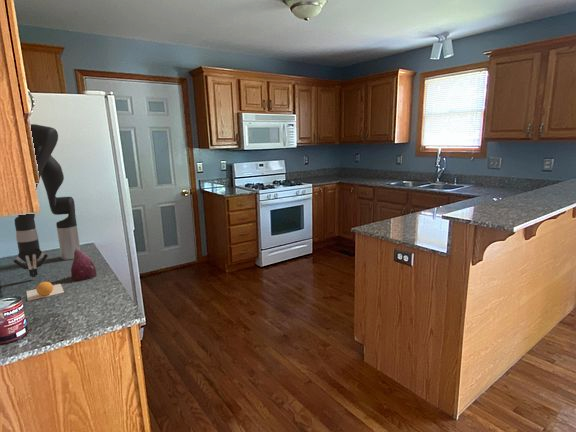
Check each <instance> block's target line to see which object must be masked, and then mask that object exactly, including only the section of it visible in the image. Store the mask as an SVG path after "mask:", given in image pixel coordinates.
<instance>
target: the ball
mask: <svg viewBox="0 0 576 432" xmlns="http://www.w3.org/2000/svg"><path fill="white" fill-rule="evenodd" d="M36 290H37V293H38V294H39V295H42V296H46V295H49V294H50V293H51V292H52V291H53V284H52V283H51V282H50V281H41V283H39V284H38V285H37V286H36Z"/></svg>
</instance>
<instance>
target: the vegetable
mask: <svg viewBox="0 0 576 432" xmlns="http://www.w3.org/2000/svg"><path fill="white" fill-rule="evenodd" d="M70 274H71V280H73V281H80V282H81V281H87V280H91V279H93V278H95V277H97V270H96V267H95V264H94V262H93V260H92V258H91V257H90V256H89V255H88V254H86V253H84V252H83V251H82V250H81V249H80V250H79V249H77V248H76V250H75V252H74V259H73V262H72V264H71V268H70Z"/></svg>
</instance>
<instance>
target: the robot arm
mask: <svg viewBox="0 0 576 432" xmlns="http://www.w3.org/2000/svg"><path fill="white" fill-rule="evenodd" d="M30 125H31V131H32V137H33V143H34V148H35V155H36V160H37V164H38V171H39V180H40V179H41V181H42V183H43V186H44V189H45V191H46V196H47V201H48V204H49V208H50V212H51V213H52V214H53V215H55V216H59V215H61V216H62V215H67V217H65V218H64V219H61V220H58V221H57V222H56V225H55V226H56V231H57V237H58V244H59V251H60V252H59V253H60V258H61V260H65V261H67V260H74V252H75V250H76V248H77V249H79V250H80V251H81V245H80V237H79V232H78V225H77V216H76V206H75V205H76V204H75V200H74V198H73V197H72V196H56V195H57V192H58V191H59V189H60V187H61V185H62V184H63V182H64V180H65V177H64V172H63V169H62V165H61V164H60V163H59V162H58V161H57V160H56V159H55V157H53V155H52V153H53V151H54V150H55V148H56V146H57V143H58V141H59V133H58V131H57V130H56V129H55V128H54V127H51V126H45V125H41V124H36V123H35V124H33V123H31V124H30ZM38 185H39V183H38V184H36V189H37V188H38ZM35 214H36V213H35ZM35 214H26V215H18V214H17V216H16V217H15V218H14V228H15V235H16V236H15V237H16V241H17V243H16V244H17V248H18V255H17V257H15V258H13V260H12V262H13V263H14V264H16V265H17V266H18V267H20V268H22V269H23V270H28V274H29V276H30V277H32V278H34V277H37V276H38V268H39V267H41V266H42V265H43V264H44V262H45V261H46V260H47V258H48V256H49V255H48V254H47V253H44V252H42V250H41V247H40V242H39V236H38V235H39V234H38V231H37V229H36V223H35V217H36V215H35ZM39 258H40V260H39V261H38V259H39ZM21 260H22V261H23V262H24V263H23V262H22V261H21ZM37 261H38V263H37ZM31 262H32V264H31ZM25 263H26V264H27V265H26V264H25Z"/></svg>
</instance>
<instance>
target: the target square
mask: <svg viewBox="0 0 576 432" xmlns="http://www.w3.org/2000/svg"><path fill="white" fill-rule="evenodd" d="M52 285H53V284H52ZM36 289H37V288H36ZM36 289H31V290H30V289H29V290H26V298H27V302H29V301H34V300H38V299H42V298H46V297H51V296H56V295H60V294H63V293H65V291H64V289H63V286H62V284H61V283H58V284H54V285H53V291H52V292H51V293H50V294H49V295H46V296H42V295H39V294H38V293H37V290H36Z"/></svg>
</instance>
